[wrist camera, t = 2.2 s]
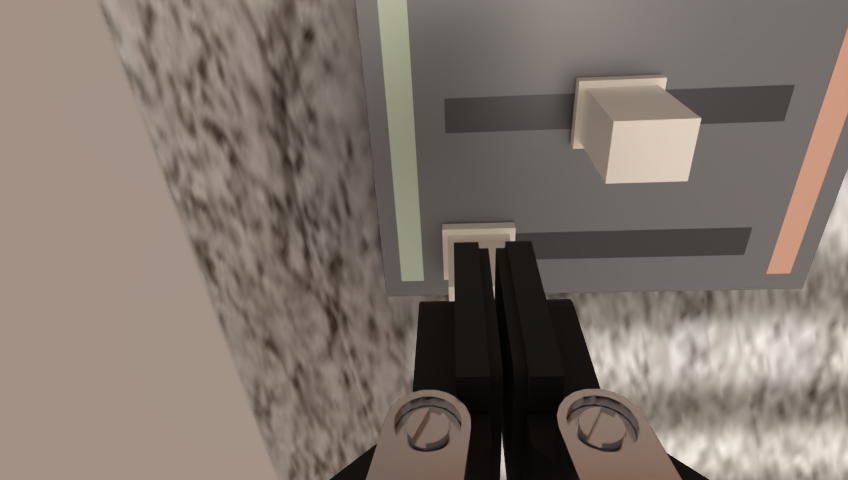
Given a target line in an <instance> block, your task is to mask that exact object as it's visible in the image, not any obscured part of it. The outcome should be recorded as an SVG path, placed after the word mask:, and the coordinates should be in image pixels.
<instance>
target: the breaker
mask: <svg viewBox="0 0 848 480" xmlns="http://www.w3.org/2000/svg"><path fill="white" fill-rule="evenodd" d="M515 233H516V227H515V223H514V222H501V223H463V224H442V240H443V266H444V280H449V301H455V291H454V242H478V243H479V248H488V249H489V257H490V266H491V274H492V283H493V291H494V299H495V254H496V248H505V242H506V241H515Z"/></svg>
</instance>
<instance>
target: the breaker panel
mask: <svg viewBox="0 0 848 480" xmlns="http://www.w3.org/2000/svg"><path fill="white" fill-rule="evenodd" d="M355 2H356V11H357V21H358V30H359V40H360V49H361V58H362V68H363V77H364V87H365V96H366V105H367V115H368V124H369V134H370V143H371V152H372V162H373V171H374V181H375V190H376V200H377V209H378V218H379V228H380V237H381V247H382V256H383V265H384V275H385V284H386V294H387V296H428V295H449V280H444V266H443V240H442V224H463V223H501V222H514V223H515V227H516V233H515V241H531V242H532V245H533V249H534V253H535V257H536V261H537V265H538V269H539V273H540V277H541V281H542V285H543V289H544V293H590V292H644V291H698V290H752V289H802V287H803V285H804V282H805V279H806V277H807V274H808V272H809V269H810V266H811V264H812V261H813V258H814V256H815V253H816V250H817V248H818V245H819V242H820V240H821V237H822V235H823V232H824V229H825V227H826V224H827V221H828V219H829V216H830V213H831V211H832V208H833V205H834V203H835V200H836V198H837V195H838V192H839V190H840V187H841V184H842V182H843V179H844V176H845V174H846V171H847V169H848V0H355ZM656 74H663V75H664V76H665V77H667V82H666V87H665V91H667V92H668V93H669V94H671V95H672V96H673V97H674V98H676V99H677V100H678V101H680V102H681V103H682V104H684V105H685V106H686V107H688V108H689V109H690V110H691V111H693V112H694V113H695V114H697V115H698V116H699V117H701V123H700V127H699V132H698V136H697V141H696V146H695V150H694V155H693V159H692V164H691V169H690V173H689V178H688V181H679V182H646V183H613V184H605V182H604V180H603V179H602V177H601V175H600V174H599V172H598V171H597V169H596V167H595V166H594V164H593V162H592V161H591V159H590V157H589V156H588V154H587V152H586V151H585V149H573V148H572V146H571V145H570V142H571V131H572V120H573V109H574V99H575V88H576V78H583V77H608V76H632V75H656Z"/></svg>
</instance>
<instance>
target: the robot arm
mask: <svg viewBox="0 0 848 480" xmlns="http://www.w3.org/2000/svg"><path fill="white" fill-rule="evenodd" d="M454 291H455V301H433V302H420V304H419V316H418V329H417V342H416V355H415V369H414V382H413V392H412V393H409V394H407V395H406V396H404V397H402V398H400V399H399V400H398V401H397V402H396V403H395V404H394V405H393V406H391V408H390V409H389V411H388V413H387V415H386V417H385V420H384V423H383V427H382V430H381V433H380V436H379V439H378V443H377V444H376V445H375V446H373V447H372V448H371V449H369V450H368V451H367V452H365V453H364V454H363V455H361V456H360V457H359V458H358V459H356V460H355V461H354V462H352V463H351V464H350V465H348V466H347V467H346V468H344V469H343V470H342V471H340V472H339V473H338V474H337V475H335V476H334V477H333V478H331V479H330V480H500V463H501V436H502V438H503V448H504V457H505V467H506V477H507V480H709V479H707V478H705V477H704V476H702V475H701V474H699V473H697V472H696V471H694V470H693V469H691V468H690V467H688V466H686V465H685V464H683V463H682V462H680V461H678V460H677V459H675V458H674V457H672V456H670V455H669V454H667V453H666V451H665V450H664V448H663V446H662V444H661V443H660V441H659V439H658V438H657V436H656V434H655V432H654V431H653V429H652V427H651V426H650V424H649V422H648V420H647V419H646V417H645V416H644V414H643V413H642V412H641V411H640V409H639V408H638V407H637V406H636V405H635V404H633V403H632V402H631V401H629V400H628V399H627V398H625V397H623V396H621V395H619V394H616V393H614V392H611V391H606V390H602V389H600V386H599V383H598V380H597V377H596V374H595V371H594V367H593V364H592V361H591V358H590V355H589V352H588V349H587V346H586V342H585V339H584V336H583V333H582V330H581V327H580V324H579V321H578V317H577V314H576V311H575V308H574V305H573V303H572V301H571V300H570V299H557V300H546V297H545V293H544V289H543V285H542V281H541V277H540V273H539V269H538V265H537V261H536V257H535V253H534V249H533V245H532V242H531V241H506V242H505V248H496V254H495V299H494V291H493V283H492V274H491V266H490V257H489V249H488V248H479V243H478V242H454Z"/></svg>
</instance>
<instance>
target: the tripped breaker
mask: <svg viewBox="0 0 848 480" xmlns="http://www.w3.org/2000/svg"><path fill="white" fill-rule="evenodd" d="M666 82H667V77H665V76H664V75H663V74H656V75H632V76H608V77H583V78H576V88H575V99H574V109H573V120H572V131H571V142H570V145H571V146H572V148H573V149H585V151H586V152H587V154H588V156H589V157H590V159H591V161H592V162H593V164H594V166H595V167H596V169H597V171H598V172H599V174H600V175H601V177H602V179H603V180H604V182H605V184H613V183H646V182H679V181H688V178H689V173H690V169H691V164H692V159H693V155H694V150H695V146H696V141H697V136H698V132H699V127H700V123H701V117H699V116H698V115H697V114H695V113H694V112H693V111H691V110H690V109H689V108H688V107H686V106H685V105H684V104H682V103H681V102H680V101H678V100H677V99H676V98H674V97H673V96H672V95H671V94H669V93H668V92H667V91H665V87H666Z"/></svg>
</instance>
